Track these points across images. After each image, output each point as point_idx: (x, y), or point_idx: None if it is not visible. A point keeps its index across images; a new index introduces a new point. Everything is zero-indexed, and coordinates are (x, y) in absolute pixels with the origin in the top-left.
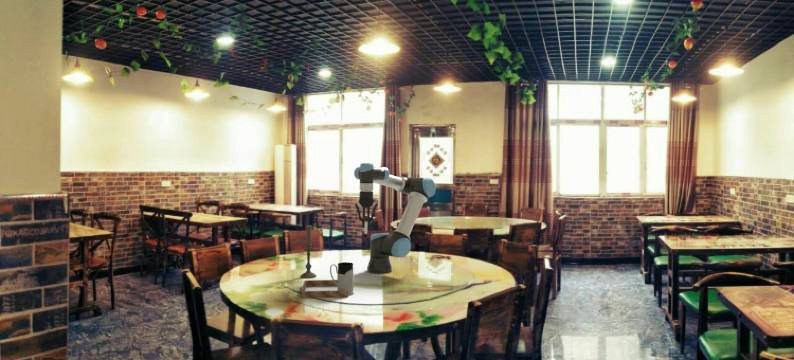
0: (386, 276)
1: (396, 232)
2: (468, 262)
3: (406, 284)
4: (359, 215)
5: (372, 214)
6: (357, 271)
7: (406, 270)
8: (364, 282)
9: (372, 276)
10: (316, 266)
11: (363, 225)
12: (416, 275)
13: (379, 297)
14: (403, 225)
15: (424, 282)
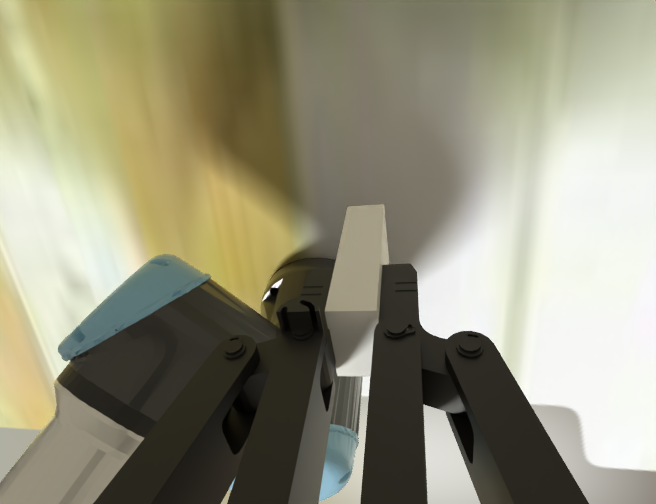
0: (277, 202)
1: (121, 413)
2: (15, 419)
3: (134, 6)
4: (516, 432)
5: (178, 446)
6: (431, 302)
7: None
8: (390, 43)
9: (350, 201)
10: (634, 397)
11: (401, 286)
12: (138, 225)
13: None
14: (47, 483)
15: (55, 69)
